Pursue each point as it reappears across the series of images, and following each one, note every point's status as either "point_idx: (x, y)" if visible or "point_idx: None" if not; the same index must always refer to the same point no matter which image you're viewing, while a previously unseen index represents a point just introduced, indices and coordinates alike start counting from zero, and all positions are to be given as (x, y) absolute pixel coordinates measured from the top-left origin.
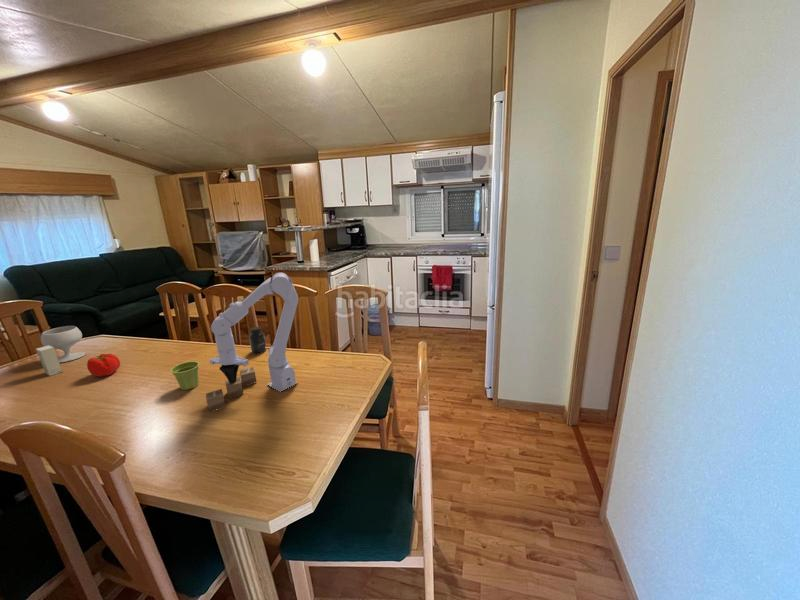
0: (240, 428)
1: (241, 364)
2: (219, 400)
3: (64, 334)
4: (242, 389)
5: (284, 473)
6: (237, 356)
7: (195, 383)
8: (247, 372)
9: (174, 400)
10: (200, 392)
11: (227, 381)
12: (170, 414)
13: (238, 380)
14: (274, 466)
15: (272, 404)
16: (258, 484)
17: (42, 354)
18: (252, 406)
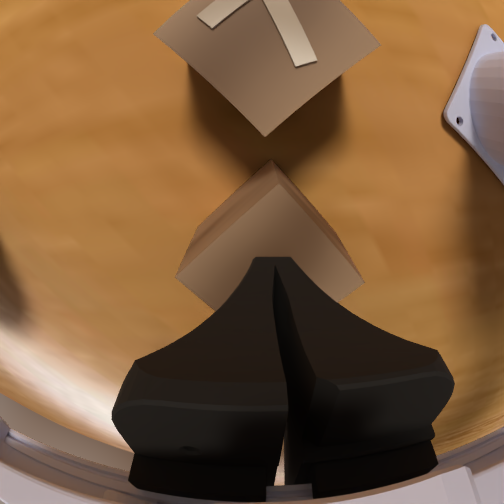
0: None
1: (495, 448)
2: None
3: None
4: (345, 249)
5: (493, 421)
6: (462, 498)
7: None
8: (304, 63)
9: (22, 315)
10: (43, 248)
11: (205, 279)
12: (105, 388)
13: (313, 250)
14: (483, 422)
15: (496, 292)
16: (463, 442)
17: None
18: (430, 321)
